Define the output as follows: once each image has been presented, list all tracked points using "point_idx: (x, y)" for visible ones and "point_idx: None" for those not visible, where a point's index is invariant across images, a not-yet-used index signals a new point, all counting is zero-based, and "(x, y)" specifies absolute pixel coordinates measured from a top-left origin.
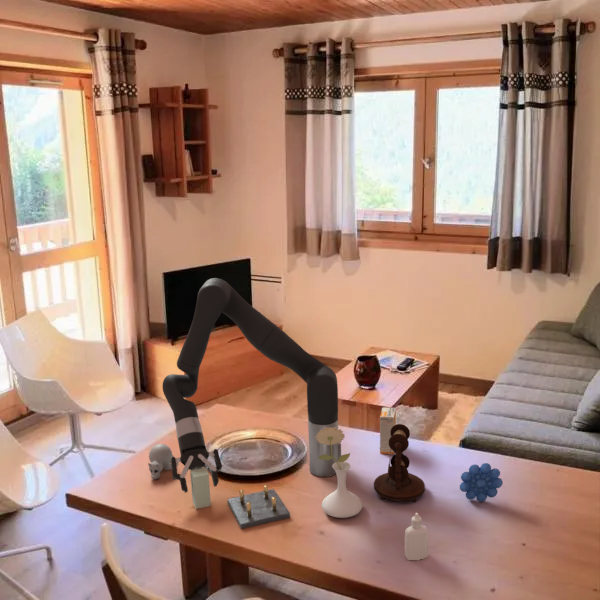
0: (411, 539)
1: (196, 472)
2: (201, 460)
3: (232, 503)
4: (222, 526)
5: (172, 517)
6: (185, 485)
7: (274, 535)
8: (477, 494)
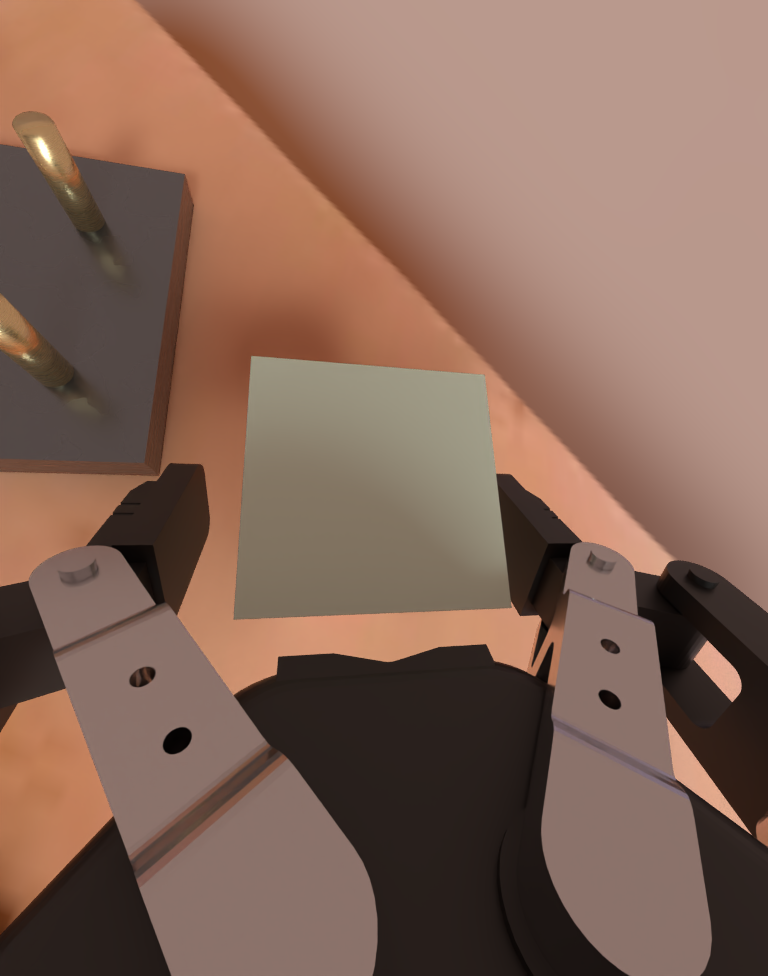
0: None
1: (423, 490)
2: (270, 757)
3: (136, 386)
4: (281, 270)
5: (525, 468)
6: (518, 492)
7: (48, 85)
8: None
